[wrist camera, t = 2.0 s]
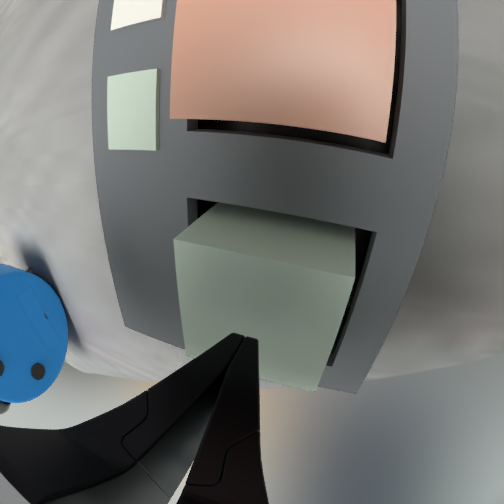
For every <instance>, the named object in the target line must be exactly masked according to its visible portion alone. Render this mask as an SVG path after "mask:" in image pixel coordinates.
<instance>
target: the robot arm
mask: <svg viewBox="0 0 504 504" xmlns="http://www.w3.org/2000/svg"><path fill="white" fill-rule="evenodd" d="M259 397H260V396H259V341H258V339H256V338H252V337H249V336H246V337H245V336H244V335H241V334H238V333H231V334H229V335H228V336H226V337H225V338H224V339H222V340H221V341H219V342H218V343H216V344H215V345H214V346H212V347H211V348H209V349H208V350H206V351H205V352H203V353H202V354H200V355H199V356H198V357H196V358H195V359H193V360H192V361H190V362H189V363H187V364H186V365H184V366H183V367H181V368H180V369H178V370H177V371H175V372H174V373H172V374H171V375H169V376H168V377H166V378H165V379H163V380H162V381H160V382H159V383H157V384H155V385H154V386H152V387H151V388H149V389H148V391H144V392H143V393H141V394H140V395H138V396H136V397H135V398H133V399H131V400H130V401H128V402H126V403H124V404H123V405H121V406H119V407H116V408H114V409H112V410H110V411H108V412H106V413H104V414H102V415H99V416H97V417H95V418H92V419H90V420H88V421H85V422H83V423H81V424H78V425H76V426H73V427H70V428H66V429H59V430H48V429H28V428H14V427H6V426H0V504H168V502H169V501H170V498H171V497H172V496H173V494H174V492H175V491H176V489H177V488H178V486H179V484H180V482H181V481H182V479H183V478H184V476H185V474H186V473H187V471H188V469H189V468H190V466H191V464H192V462H193V461H194V462H193V465H192V467H191V470H190V473H189V475H188V478H187V481H186V485H185V487H184V489H183V491H182V494H181V496H180V498H179V500H178V502H177V504H269V502H268V497H267V492H266V487H265V481H264V476H263V469H262V462H261V448H260V404H259V403H260V402H259V401H260V398H259Z"/></svg>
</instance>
